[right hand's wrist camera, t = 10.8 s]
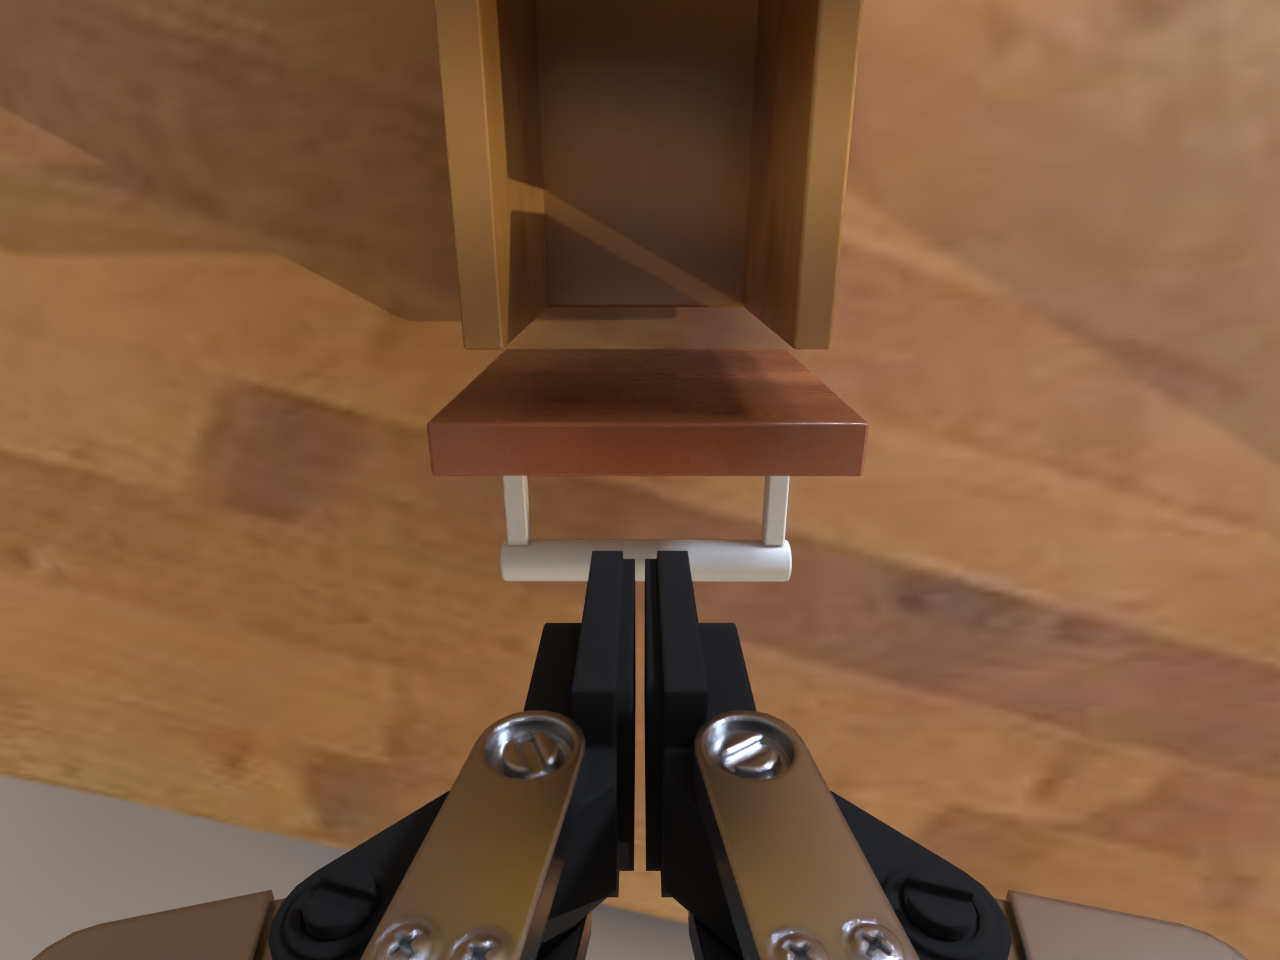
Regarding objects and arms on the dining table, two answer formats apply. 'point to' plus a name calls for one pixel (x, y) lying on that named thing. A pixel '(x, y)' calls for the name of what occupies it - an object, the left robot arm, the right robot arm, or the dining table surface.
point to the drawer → (647, 250)
